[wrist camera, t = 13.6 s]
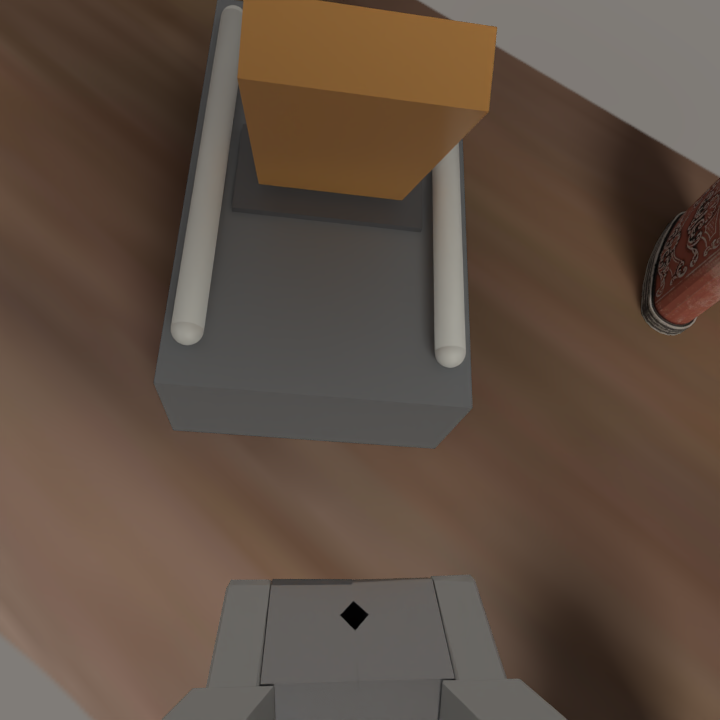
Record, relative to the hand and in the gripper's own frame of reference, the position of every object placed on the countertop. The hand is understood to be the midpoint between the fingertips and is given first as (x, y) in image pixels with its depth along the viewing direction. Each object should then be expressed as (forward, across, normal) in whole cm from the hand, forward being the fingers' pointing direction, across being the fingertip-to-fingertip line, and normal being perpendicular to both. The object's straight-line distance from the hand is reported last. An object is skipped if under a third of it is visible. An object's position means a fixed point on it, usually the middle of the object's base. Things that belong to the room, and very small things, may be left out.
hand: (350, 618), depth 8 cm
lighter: (+29, +19, -3) cm, 35 cm away
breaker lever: (+23, 0, +3) cm, 23 cm away
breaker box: (+27, -1, -1) cm, 27 cm away
